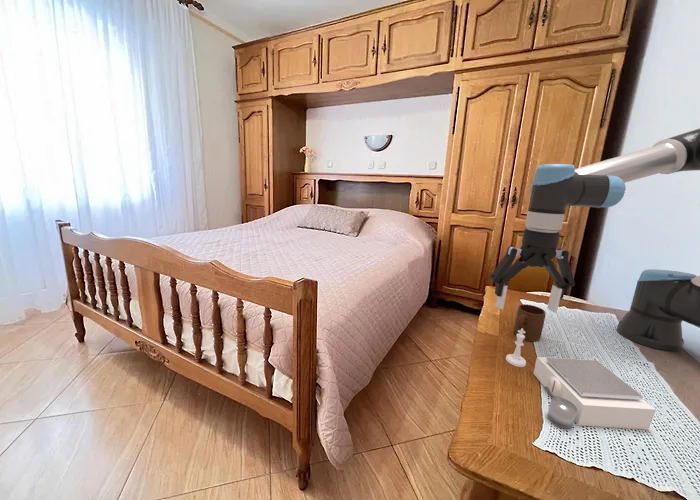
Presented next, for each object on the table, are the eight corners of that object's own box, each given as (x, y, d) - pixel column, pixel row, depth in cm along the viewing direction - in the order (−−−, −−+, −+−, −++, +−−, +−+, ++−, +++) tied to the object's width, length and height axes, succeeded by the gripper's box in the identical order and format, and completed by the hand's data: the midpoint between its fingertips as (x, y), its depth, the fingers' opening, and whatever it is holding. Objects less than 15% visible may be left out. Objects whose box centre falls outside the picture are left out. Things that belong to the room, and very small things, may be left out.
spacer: (563, 412, 62) (567, 397, 61) (578, 430, 58) (582, 414, 57) (542, 411, 62) (546, 396, 61) (555, 428, 58) (560, 412, 57)
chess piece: (528, 368, 76) (536, 334, 74) (508, 365, 77) (515, 332, 75) (522, 357, 81) (528, 325, 79) (503, 354, 82) (509, 323, 80)
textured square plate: (595, 363, 71) (596, 360, 70) (641, 399, 59) (642, 396, 59) (546, 360, 71) (546, 357, 71) (581, 396, 59) (582, 392, 59)
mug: (527, 349, 85) (533, 320, 83) (502, 337, 91) (507, 310, 89) (544, 337, 92) (550, 310, 90) (519, 327, 98) (524, 302, 96)
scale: (588, 376, 74) (593, 358, 72) (648, 429, 58) (656, 407, 57) (531, 373, 74) (535, 355, 73) (575, 425, 59) (581, 403, 57)
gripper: (582, 229, 73) (564, 305, 78) (484, 224, 74) (472, 300, 79) (606, 235, 66) (584, 318, 71) (497, 229, 67) (483, 312, 72)
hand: (525, 309), depth 75 cm, fingers open, 13 cm apart
